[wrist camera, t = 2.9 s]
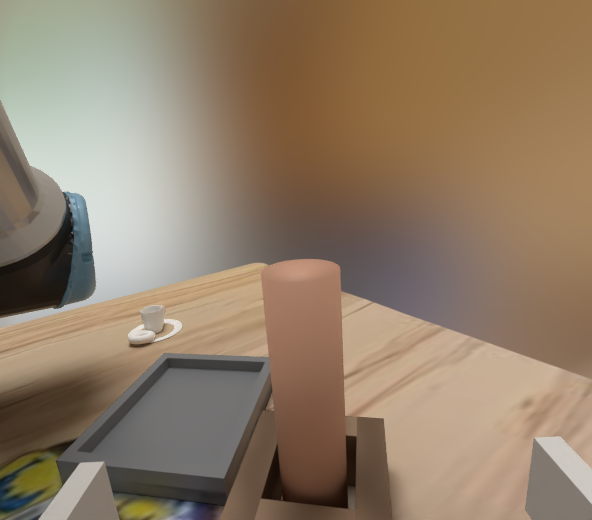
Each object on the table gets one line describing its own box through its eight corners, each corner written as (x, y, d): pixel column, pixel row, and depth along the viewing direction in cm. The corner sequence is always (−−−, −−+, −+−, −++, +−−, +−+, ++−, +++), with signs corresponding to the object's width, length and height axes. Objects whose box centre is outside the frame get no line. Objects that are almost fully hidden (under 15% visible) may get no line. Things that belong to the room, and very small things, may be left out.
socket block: (226, 585, 21) (216, 527, 20) (267, 455, 30) (262, 410, 29) (393, 613, 19) (394, 552, 18) (383, 465, 28) (383, 418, 27)
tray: (63, 485, 28) (55, 460, 28) (167, 371, 43) (164, 353, 43) (228, 505, 26) (223, 478, 25) (277, 376, 41) (275, 357, 40)
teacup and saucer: (139, 354, 49) (133, 327, 48) (113, 339, 54) (107, 315, 53) (192, 329, 55) (189, 305, 54) (165, 318, 60) (161, 296, 59)
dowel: (278, 545, 23) (250, 283, 18) (291, 485, 27) (271, 259, 22) (347, 555, 22) (337, 283, 17) (349, 491, 26) (342, 258, 21)
